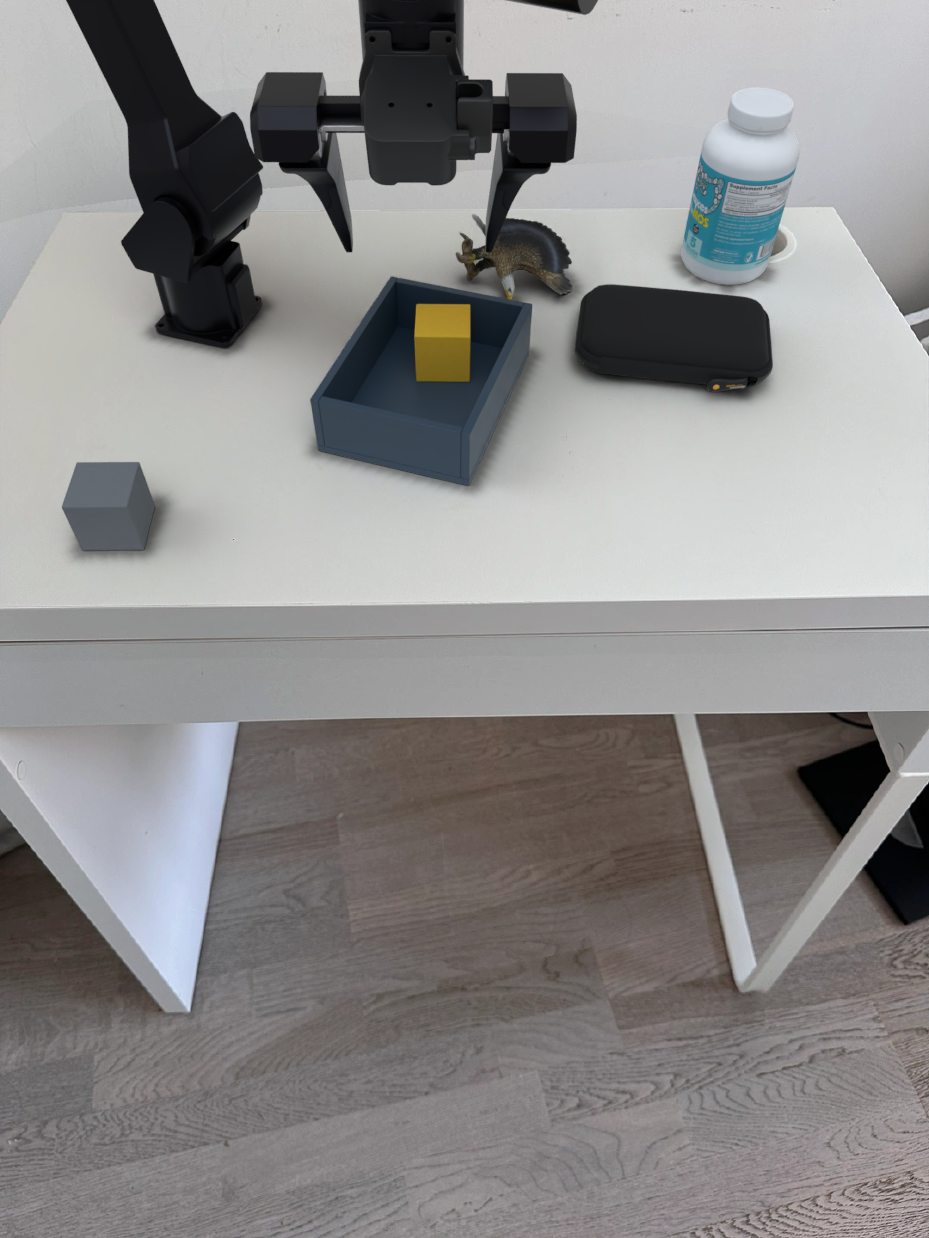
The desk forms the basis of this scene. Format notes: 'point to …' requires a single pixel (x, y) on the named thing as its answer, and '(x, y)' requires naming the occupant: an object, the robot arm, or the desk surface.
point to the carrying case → (674, 336)
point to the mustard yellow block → (442, 342)
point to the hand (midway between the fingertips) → (419, 249)
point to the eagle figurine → (520, 254)
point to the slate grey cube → (109, 506)
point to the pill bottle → (741, 188)
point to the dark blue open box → (420, 385)
